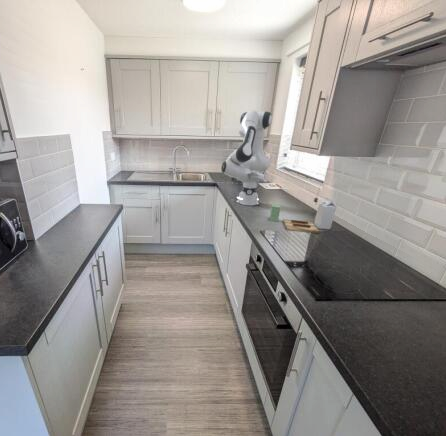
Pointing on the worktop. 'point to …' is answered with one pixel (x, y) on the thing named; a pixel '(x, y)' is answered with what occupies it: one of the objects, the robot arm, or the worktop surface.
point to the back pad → (274, 213)
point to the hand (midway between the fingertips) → (262, 182)
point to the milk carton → (325, 214)
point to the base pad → (300, 226)
